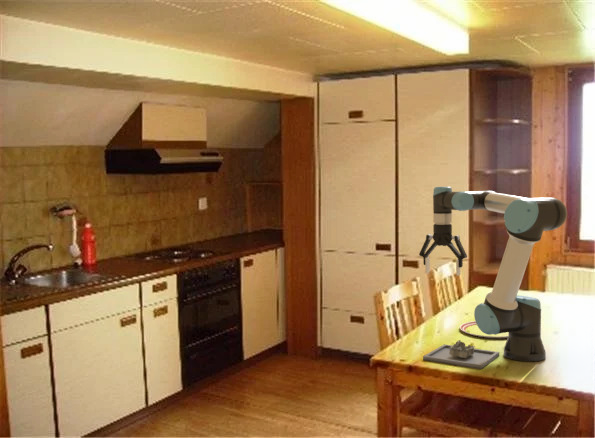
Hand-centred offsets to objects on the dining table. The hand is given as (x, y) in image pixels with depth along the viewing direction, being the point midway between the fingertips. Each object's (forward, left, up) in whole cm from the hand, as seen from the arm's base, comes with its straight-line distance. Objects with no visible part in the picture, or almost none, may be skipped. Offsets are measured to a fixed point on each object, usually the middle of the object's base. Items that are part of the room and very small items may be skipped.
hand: (442, 274), depth 261 cm
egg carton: (-13, +19, -29) cm, 37 cm away
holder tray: (-15, +19, -29) cm, 38 cm away
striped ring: (-13, -23, -29) cm, 40 cm away
